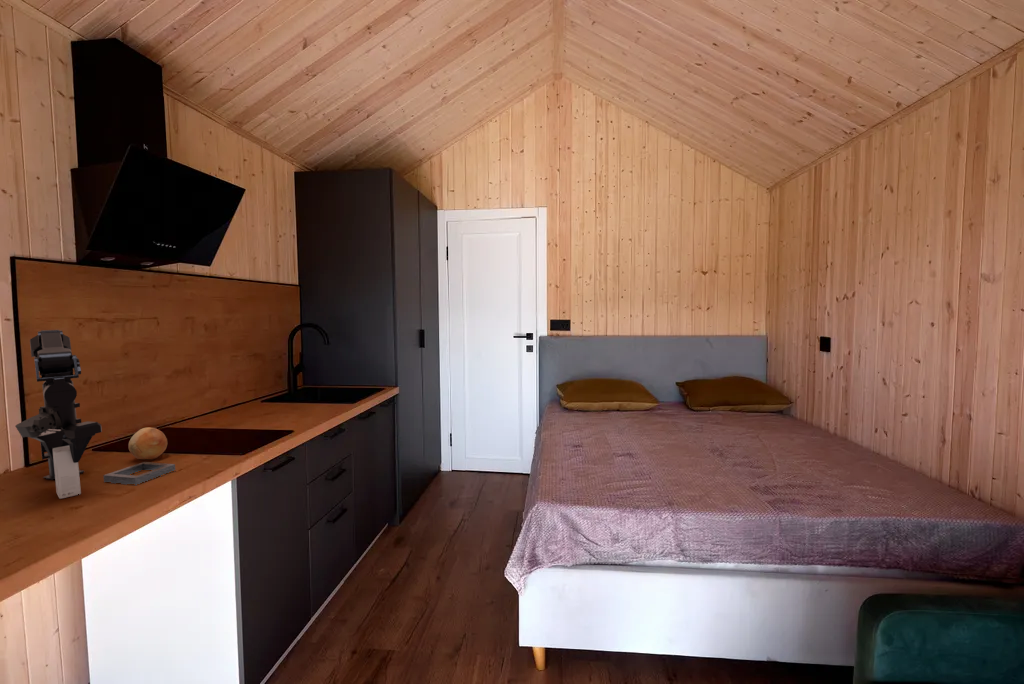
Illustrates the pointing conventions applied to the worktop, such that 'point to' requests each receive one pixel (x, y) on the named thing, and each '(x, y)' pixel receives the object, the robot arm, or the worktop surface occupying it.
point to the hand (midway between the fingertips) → (65, 461)
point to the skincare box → (66, 473)
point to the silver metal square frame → (126, 478)
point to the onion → (147, 443)
